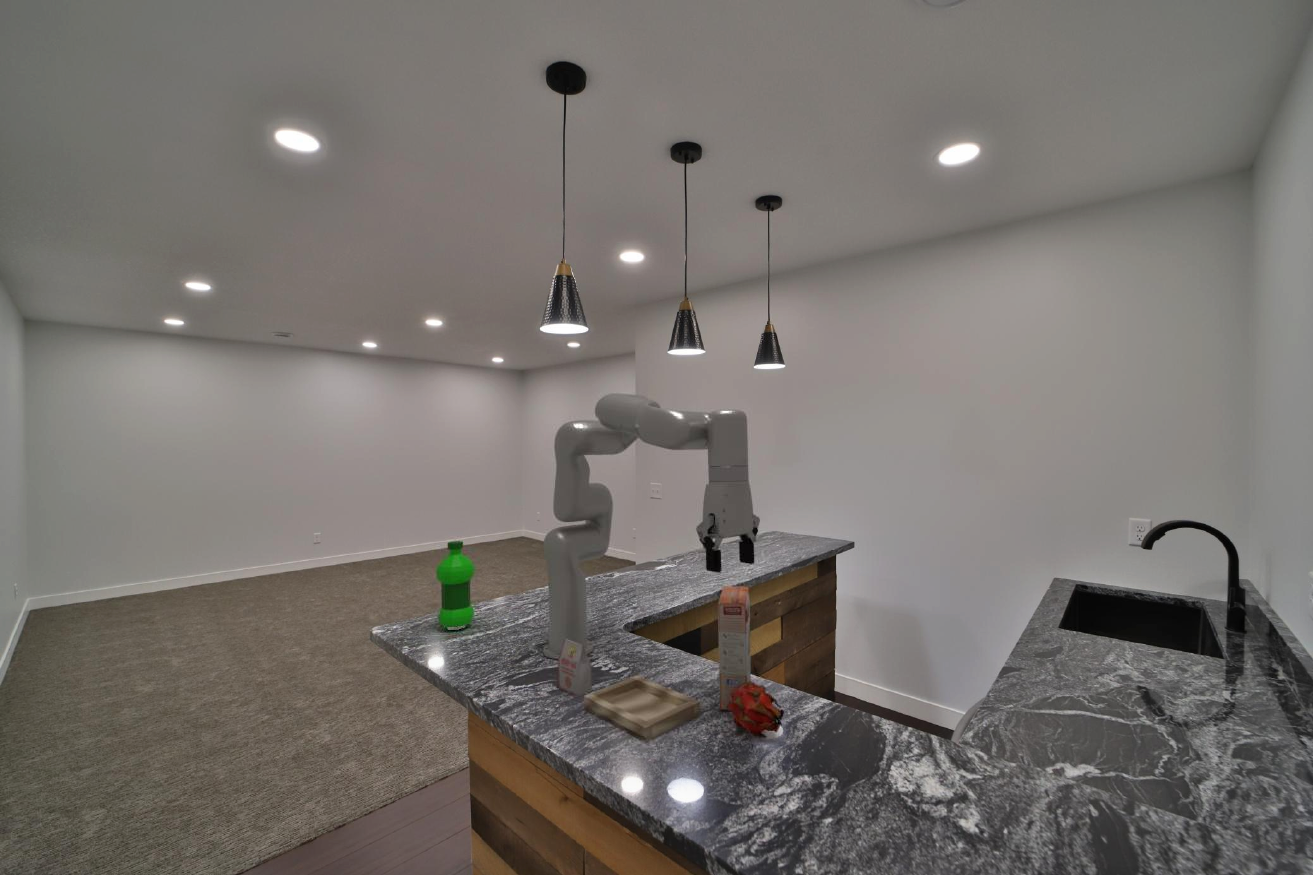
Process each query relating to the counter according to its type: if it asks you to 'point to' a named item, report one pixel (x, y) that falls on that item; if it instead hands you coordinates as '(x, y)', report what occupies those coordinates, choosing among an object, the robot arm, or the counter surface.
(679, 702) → the wooden tray
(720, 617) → the cracker box
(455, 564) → the plastic bottle
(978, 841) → the counter surface
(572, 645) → the white cardboard box
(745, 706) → the dragon fruit
